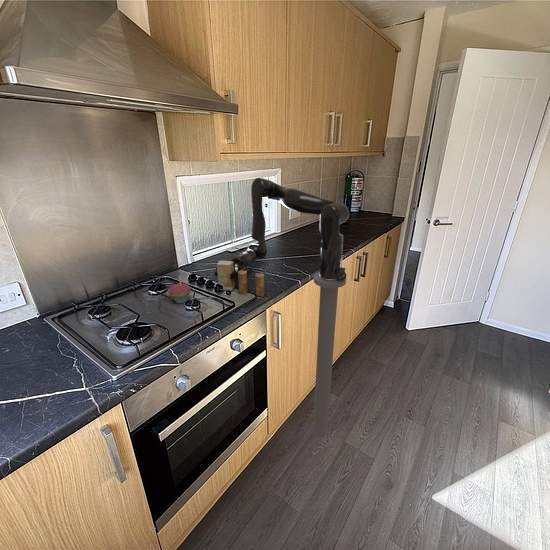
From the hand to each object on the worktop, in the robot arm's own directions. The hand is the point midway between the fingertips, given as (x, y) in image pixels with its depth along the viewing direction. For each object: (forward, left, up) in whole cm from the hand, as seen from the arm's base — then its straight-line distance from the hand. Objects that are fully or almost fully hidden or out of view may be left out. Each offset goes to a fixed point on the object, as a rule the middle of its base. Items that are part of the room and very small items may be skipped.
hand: (223, 275), depth 123 cm
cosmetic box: (0, -2, -7) cm, 8 cm away
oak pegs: (-12, -2, -7) cm, 14 cm away
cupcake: (+12, +14, -7) cm, 20 cm away
